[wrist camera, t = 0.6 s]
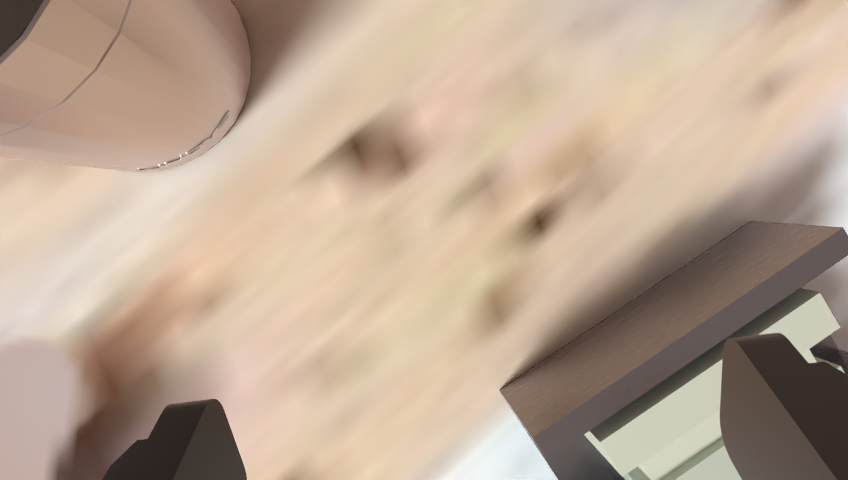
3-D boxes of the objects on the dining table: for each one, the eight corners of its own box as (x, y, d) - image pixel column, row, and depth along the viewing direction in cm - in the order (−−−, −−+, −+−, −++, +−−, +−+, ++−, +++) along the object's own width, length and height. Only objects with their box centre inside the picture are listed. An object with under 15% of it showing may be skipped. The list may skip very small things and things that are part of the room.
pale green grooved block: (560, 400, 30) (600, 442, 25) (744, 276, 30) (820, 292, 25) (616, 486, 30) (665, 544, 25) (796, 363, 30) (880, 395, 26)
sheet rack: (499, 390, 30) (532, 437, 24) (750, 221, 31) (842, 227, 25) (644, 611, 32) (709, 707, 26) (883, 445, 32) (1000, 502, 26)
